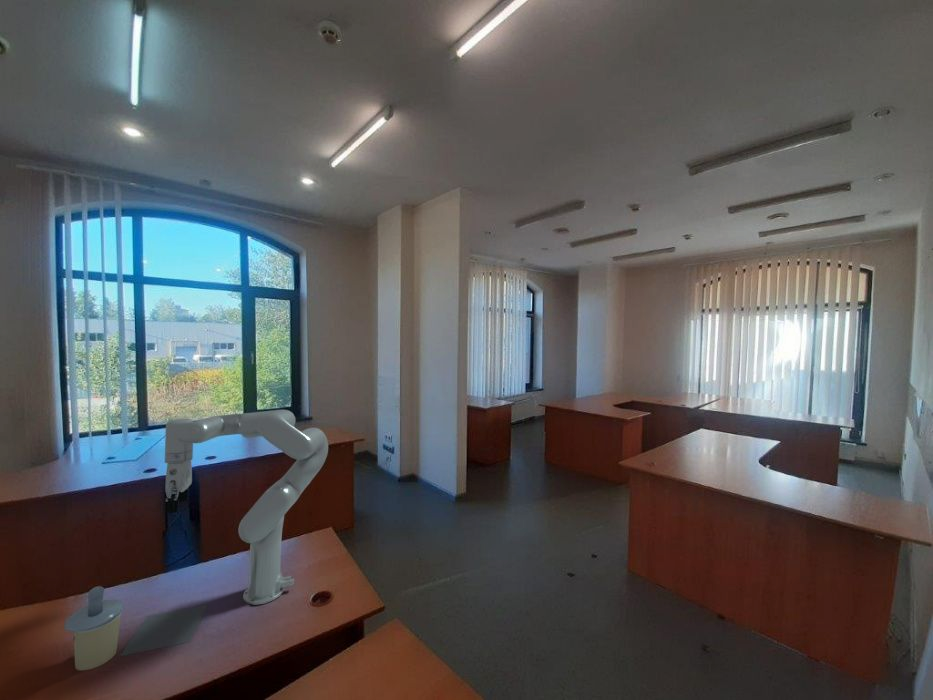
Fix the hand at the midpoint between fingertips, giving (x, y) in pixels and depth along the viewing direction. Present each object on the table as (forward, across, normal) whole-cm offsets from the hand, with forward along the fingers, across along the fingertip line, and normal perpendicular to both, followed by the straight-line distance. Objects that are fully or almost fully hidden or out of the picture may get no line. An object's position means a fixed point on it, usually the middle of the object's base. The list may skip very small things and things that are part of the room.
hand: (177, 506), depth 125 cm
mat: (+30, -18, -4) cm, 35 cm away
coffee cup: (+31, -24, +10) cm, 40 cm away
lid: (+18, -24, +10) cm, 32 cm away
